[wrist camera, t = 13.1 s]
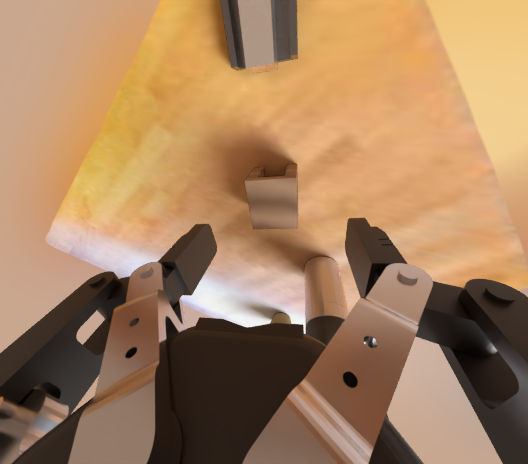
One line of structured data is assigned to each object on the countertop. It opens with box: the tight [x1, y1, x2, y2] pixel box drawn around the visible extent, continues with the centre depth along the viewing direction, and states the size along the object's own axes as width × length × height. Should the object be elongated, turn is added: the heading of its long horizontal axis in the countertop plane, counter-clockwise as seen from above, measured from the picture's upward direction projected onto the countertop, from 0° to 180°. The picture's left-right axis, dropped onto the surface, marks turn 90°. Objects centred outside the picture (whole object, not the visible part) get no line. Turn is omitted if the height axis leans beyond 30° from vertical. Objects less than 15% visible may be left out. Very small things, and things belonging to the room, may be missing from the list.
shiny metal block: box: [238, 0, 278, 73], centre depth 25 cm, size 11×4×5 cm, turn 6°
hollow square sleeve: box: [244, 164, 298, 229], centre depth 38 cm, size 10×9×8 cm
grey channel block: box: [220, 0, 298, 70], centre depth 26 cm, size 9×10×3 cm
